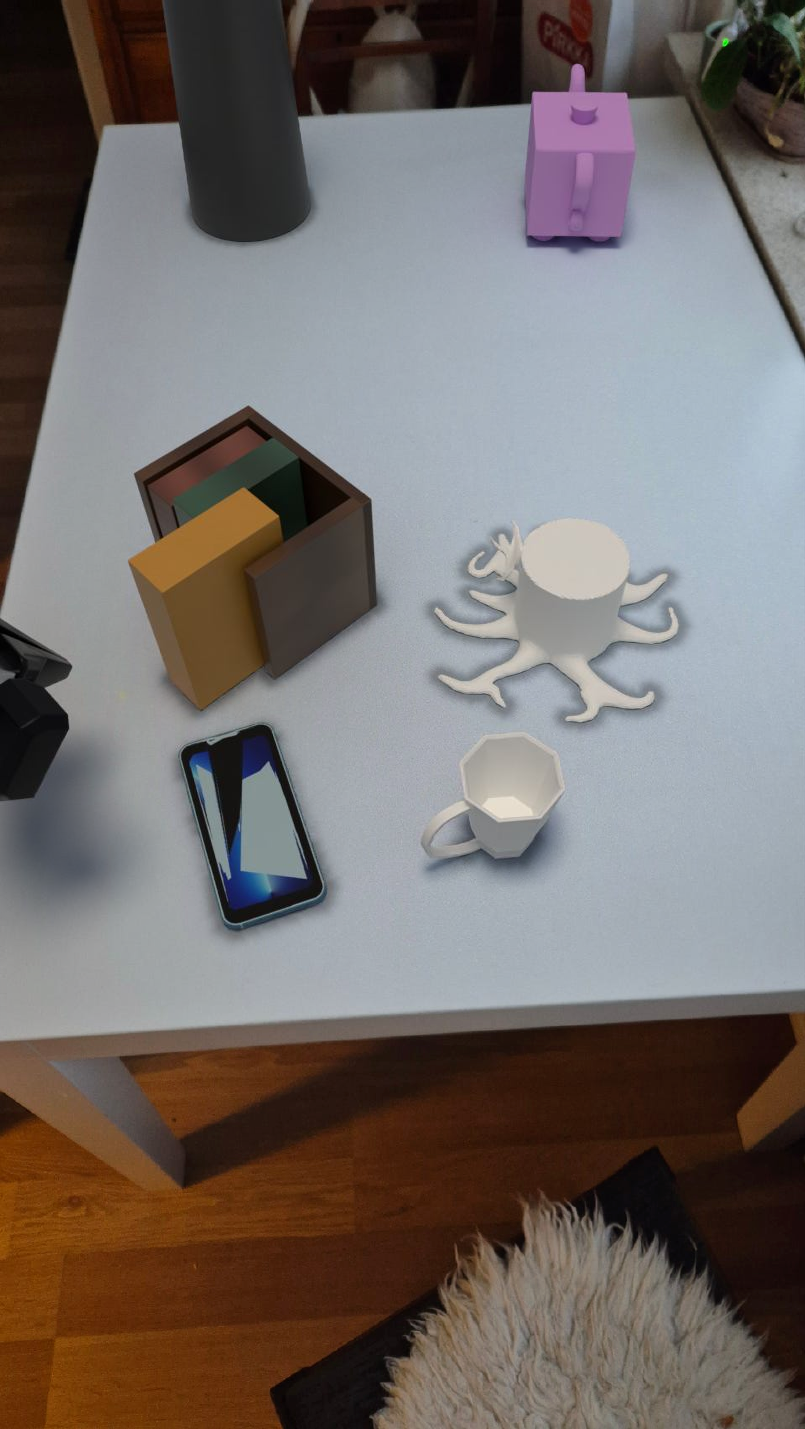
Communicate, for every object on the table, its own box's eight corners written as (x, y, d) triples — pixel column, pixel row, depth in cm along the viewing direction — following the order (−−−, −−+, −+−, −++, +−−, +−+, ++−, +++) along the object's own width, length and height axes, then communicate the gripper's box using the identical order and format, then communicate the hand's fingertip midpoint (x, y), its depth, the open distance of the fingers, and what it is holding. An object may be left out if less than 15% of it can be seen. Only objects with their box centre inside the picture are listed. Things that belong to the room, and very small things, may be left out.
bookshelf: (274, 679, 79) (251, 569, 68) (166, 579, 85) (129, 463, 74) (377, 604, 83) (371, 488, 72) (267, 513, 89) (246, 394, 78)
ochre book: (200, 711, 78) (161, 592, 66) (169, 680, 79) (126, 560, 68) (299, 639, 81) (279, 515, 70) (268, 611, 83) (243, 486, 71)
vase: (208, 172, 120) (155, -131, 96) (320, 179, 119) (295, -126, 95) (178, 237, 113) (113, -73, 89) (297, 245, 112) (264, -67, 88)
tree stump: (521, 505, 89) (529, 433, 83) (722, 601, 83) (749, 532, 76) (389, 654, 80) (386, 587, 74) (603, 774, 74) (621, 714, 67)
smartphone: (224, 930, 67) (174, 747, 75) (226, 935, 68) (177, 753, 75) (330, 895, 68) (271, 718, 76) (331, 900, 69) (272, 725, 77)
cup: (572, 849, 71) (588, 794, 64) (448, 913, 68) (451, 862, 62) (519, 773, 74) (529, 713, 68) (399, 831, 72) (397, 775, 65)
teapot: (620, 264, 109) (641, 145, 99) (526, 262, 109) (537, 144, 99) (607, 165, 120) (626, 49, 110) (522, 164, 120) (532, 48, 110)
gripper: (-284, 679, 60) (-47, 682, 73) (-141, 892, 53) (95, 853, 66) (-227, 519, 56) (12, 553, 70) (-64, 723, 49) (169, 718, 62)
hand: (67, 669), depth 67 cm, fingers closed
